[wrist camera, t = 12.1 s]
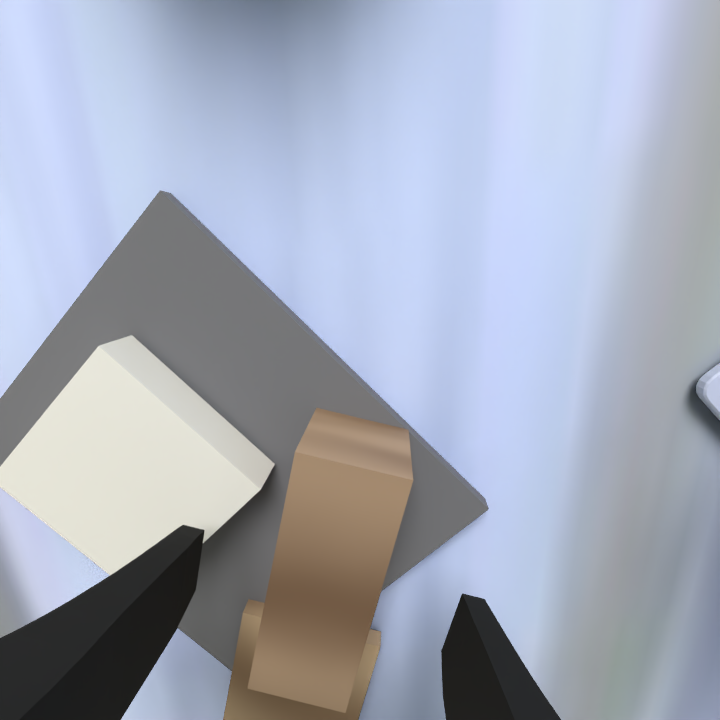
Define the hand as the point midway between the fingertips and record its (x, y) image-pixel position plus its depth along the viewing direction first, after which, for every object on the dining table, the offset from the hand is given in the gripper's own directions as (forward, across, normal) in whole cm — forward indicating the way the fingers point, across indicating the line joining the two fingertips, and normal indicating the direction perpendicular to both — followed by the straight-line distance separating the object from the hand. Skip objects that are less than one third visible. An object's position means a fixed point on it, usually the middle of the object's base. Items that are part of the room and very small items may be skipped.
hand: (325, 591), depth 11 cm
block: (+2, +5, -3) cm, 6 cm away
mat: (+4, +4, 0) cm, 6 cm away
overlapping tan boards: (+3, 0, +3) cm, 4 cm away
